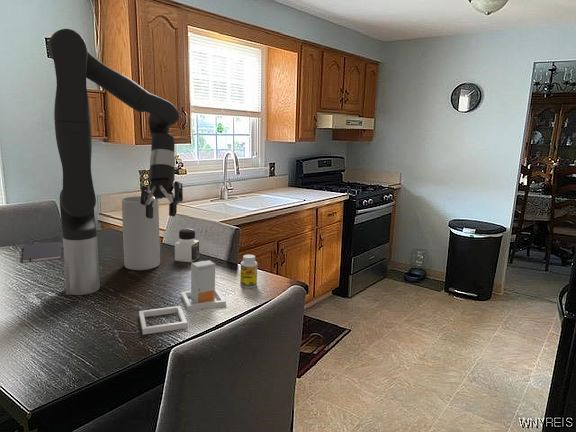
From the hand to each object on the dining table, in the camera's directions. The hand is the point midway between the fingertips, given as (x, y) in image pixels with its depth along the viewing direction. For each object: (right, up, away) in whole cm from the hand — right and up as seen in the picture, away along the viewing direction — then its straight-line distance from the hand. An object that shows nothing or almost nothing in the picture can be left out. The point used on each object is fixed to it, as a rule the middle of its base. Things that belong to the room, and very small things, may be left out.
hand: (160, 217), depth 128 cm
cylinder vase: (-15, -18, +26) cm, 35 cm away
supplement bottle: (+26, -23, +11) cm, 36 cm away
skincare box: (+14, -25, -3) cm, 29 cm away
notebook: (-58, -15, +36) cm, 70 cm away
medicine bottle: (-1, -17, +36) cm, 39 cm away
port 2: (+14, -25, -3) cm, 29 cm away
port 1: (+6, -28, -17) cm, 33 cm away
